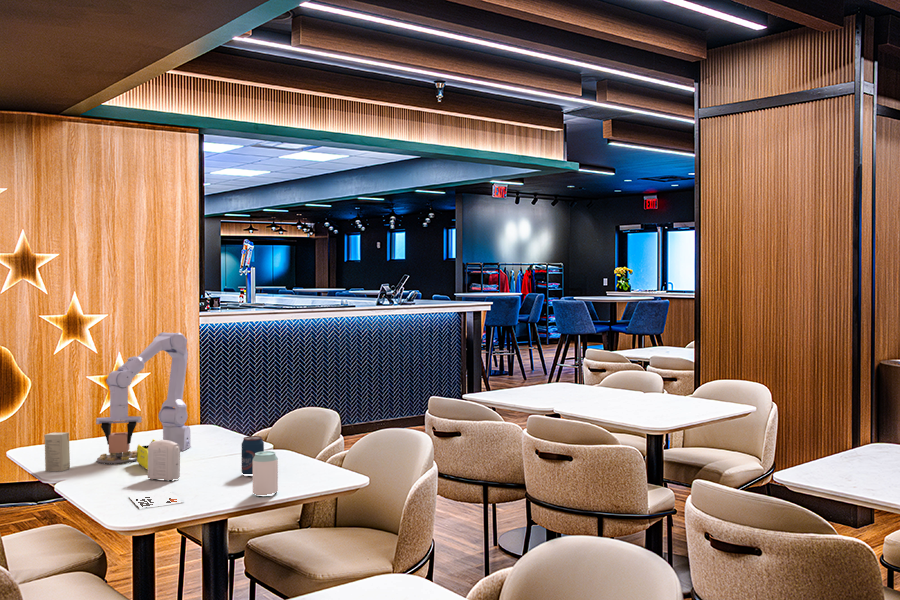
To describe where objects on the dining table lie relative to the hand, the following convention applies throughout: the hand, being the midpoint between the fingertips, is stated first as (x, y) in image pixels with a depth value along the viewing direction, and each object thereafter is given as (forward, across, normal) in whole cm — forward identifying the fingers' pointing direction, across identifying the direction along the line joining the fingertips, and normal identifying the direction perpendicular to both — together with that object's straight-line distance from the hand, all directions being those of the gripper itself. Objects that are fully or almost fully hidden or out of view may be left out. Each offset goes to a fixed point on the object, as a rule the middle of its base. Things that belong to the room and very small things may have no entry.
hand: (119, 443), depth 263 cm
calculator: (+6, +21, -60) cm, 64 cm away
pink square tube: (+3, 0, 0) cm, 3 cm away
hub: (+6, 0, 0) cm, 6 cm away
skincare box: (+6, -17, -12) cm, 21 cm away
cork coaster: (+6, +6, +11) cm, 14 cm away
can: (+6, +50, -61) cm, 79 cm away
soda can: (+6, +46, -35) cm, 58 cm away
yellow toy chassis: (+6, +12, -14) cm, 20 cm away
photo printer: (+6, +19, -34) cm, 40 cm away
